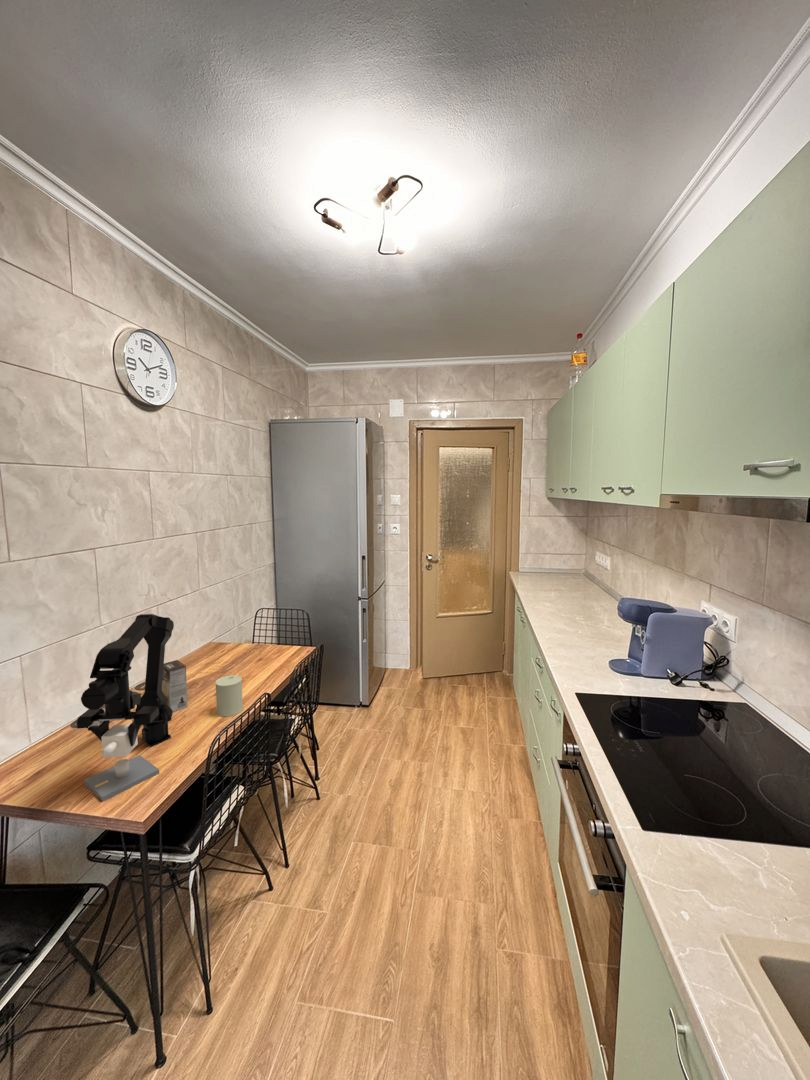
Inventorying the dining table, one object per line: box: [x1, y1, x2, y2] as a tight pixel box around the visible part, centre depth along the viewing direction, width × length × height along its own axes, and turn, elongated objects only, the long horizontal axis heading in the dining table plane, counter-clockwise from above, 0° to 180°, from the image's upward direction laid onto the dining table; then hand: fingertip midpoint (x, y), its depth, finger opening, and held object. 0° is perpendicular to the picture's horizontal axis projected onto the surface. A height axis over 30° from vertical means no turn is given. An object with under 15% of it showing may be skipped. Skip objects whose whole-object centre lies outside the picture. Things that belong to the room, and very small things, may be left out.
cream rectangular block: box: [101, 723, 138, 759], centre depth 117 cm, size 6×10×6 cm, turn 6°
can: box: [214, 674, 244, 717], centre depth 158 cm, size 9×9×12 cm
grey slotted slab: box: [83, 754, 160, 802], centre depth 120 cm, size 14×12×5 cm
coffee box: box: [162, 659, 188, 713], centre depth 161 cm, size 9×6×16 cm
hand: (120, 746), depth 119 cm, fingers closed on cream rectangular block, 6 cm apart
